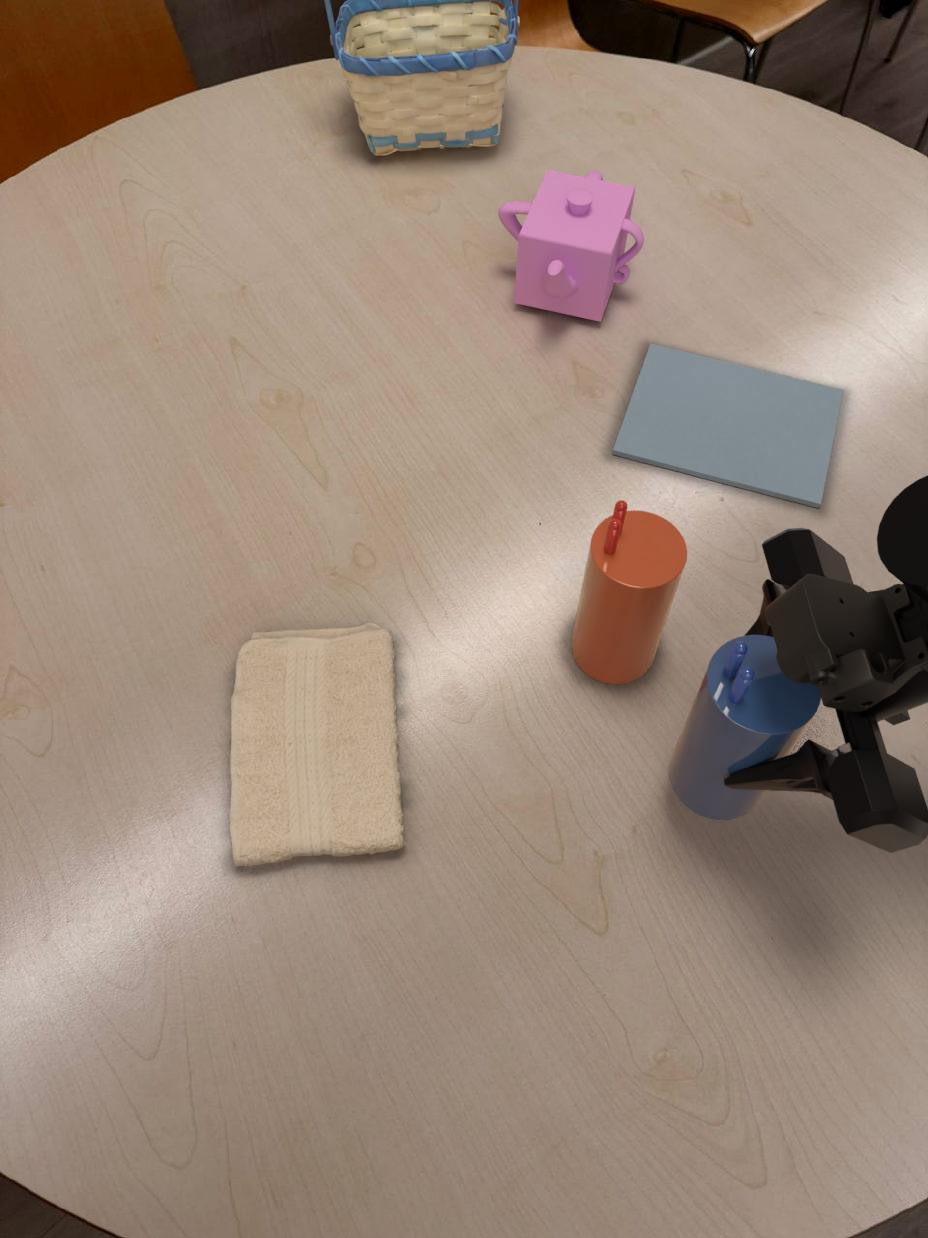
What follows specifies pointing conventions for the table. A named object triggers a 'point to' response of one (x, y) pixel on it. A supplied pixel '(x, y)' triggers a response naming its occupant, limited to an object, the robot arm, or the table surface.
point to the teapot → (572, 243)
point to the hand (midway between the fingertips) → (716, 733)
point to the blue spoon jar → (738, 726)
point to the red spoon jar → (626, 594)
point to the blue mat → (731, 424)
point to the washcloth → (315, 746)
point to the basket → (426, 69)
